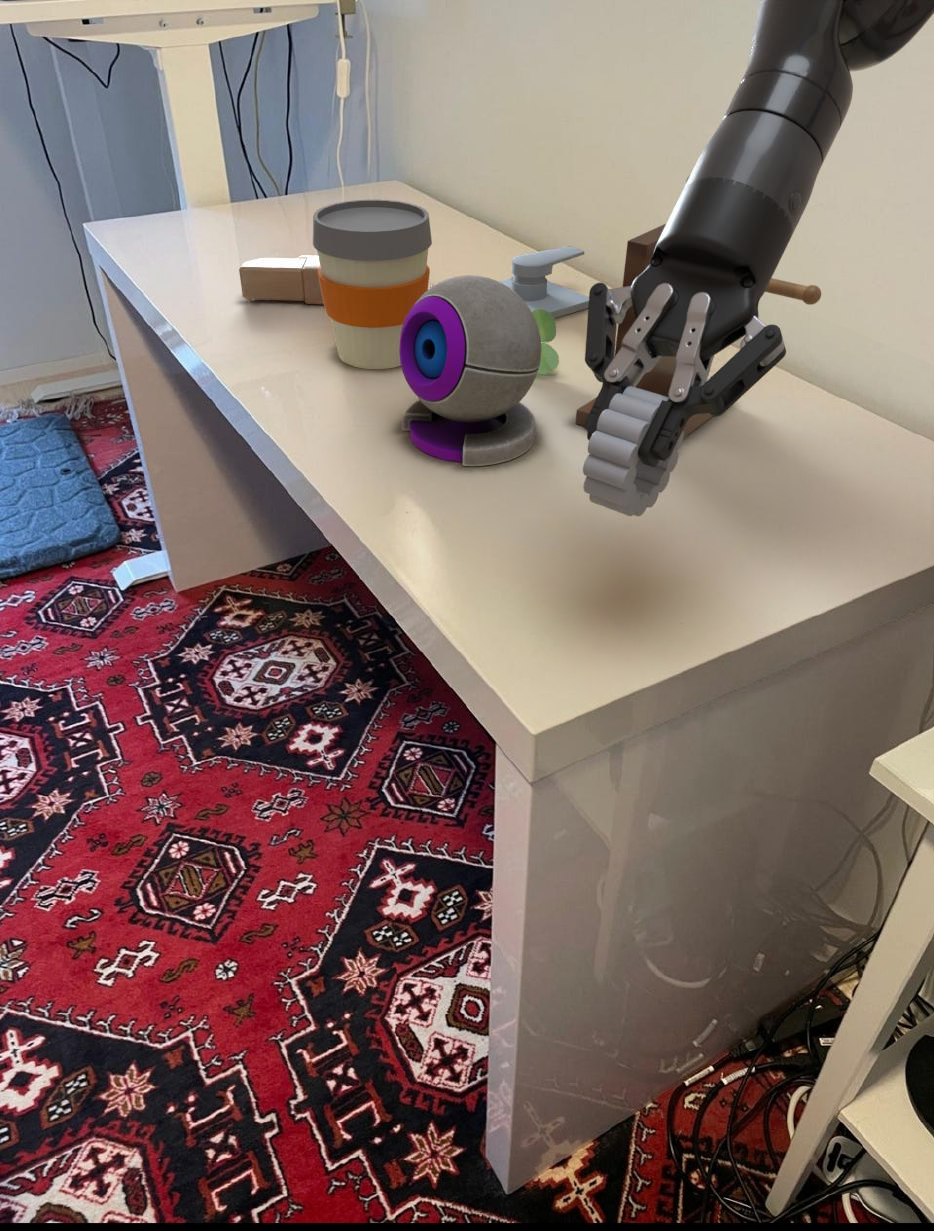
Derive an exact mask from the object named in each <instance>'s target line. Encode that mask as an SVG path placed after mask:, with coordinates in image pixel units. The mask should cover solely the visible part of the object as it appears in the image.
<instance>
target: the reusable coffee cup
mask: <svg viewBox="0 0 934 1231" xmlns="http://www.w3.org/2000/svg"><path fill="white" fill-rule="evenodd" d="M312 218H313V219H312V246H313V248H314V249H315V250H316V252H317V256H318V258H319V263H320V267H319V269H318V277H319V282H320V287H321V291H322V296H323V301H324V304H323V306H324V311H325V314H326V315H327V316H328V317H329V319H330V321H331V325H332V326H331V327H332V331H333V337H334V341H335V345H336V346H335V347H336V350H337V355H338V358H339V360H340V361H341V362H342V363H345V364H346V365H348V366H351V367H355V368H359V369H364V370H385V369H393V368H398V367H401V363H400V354H399V344H400V335H401V330H402V326H403V323H404V321H405V319H406V316H407V315H408V313H409V311H410V310H411V308H412V307H413V306H414V304H415V303H416V302H417V300H418V299H419V298H420V297H421V296H422V295H423V294H424V293H425V292H426V291H428V290H429V283H430V273H431V270H430V267H429V265H428V256H429V248H431V246H432V244H433V241H432V230H431V224H430V223H431V222H430V213H429V212H428V211H427V209H425V208H424V207H422V206H419V205H417V204H414V203H409V202H405V201H400V200H390V199H355V200H354V199H353V200H346V201H340V202H335V203H331V204H328V205H325V206H323V207H320V208H319V209H317V210H316V211H315V212H314V213H313V215H312Z"/></svg>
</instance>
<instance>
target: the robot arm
mask: <svg viewBox="0 0 934 1231" xmlns="http://www.w3.org/2000/svg"><path fill="white" fill-rule="evenodd" d="M933 15H934V0H759V2H758V7H757V13H756V17H755V22H754V28H753V33H752V37H751V41H750V46H749V51H748V59H747V64H746V68H745V72H744V74H743V76H742V78H741V80H740V82H739V84H738V86H737V88H736V91H735V92H734V95H733V96H732V98H731V100H730V102H729V104H728V106H727V108H726V111H725V113H724V115H723V116H722V118H721V121H720V123H719V125H718V126H717V128H716V130H715V131H714V133H713V135H712V136H711V138H710V139H709V140H708V142H707V143H706V145H705V146H704V148H703V149H702V151H701V153H700V155H699V157H698V158H697V160H696V163H695V165H694V167H693V169H692V171H691V173H689V175H688V177H687V178H686V179H685V183H684V186H683V189H682V191H681V193H680V196H679V197H678V199H677V201H676V203H675V206H674V208H673V209H672V211H671V214H670V216H669V218H668V220H667V222H666V223H667V224H666V223H665V224H666V226H665V228H664V230H663V232H662V234H661V236H660V238H659V240H658V242H657V244H656V247H655V249H654V253H653V256H652V259H651V262H650V264H649V266H648V267H647V268H646V269H645V270H644V271H643V272H642V273H641V274H640V275H639V276H637V277H636V279H635V280H634V281H633V283H632V285H631V286H626V287H623V286H621V287H614V288H608V286H607V285H606V284H605V283H604V282H597V283H595V284H593V285H592V286H591V287H590V289H589V293H588V294H589V295H588V297H589V307H588V308H587V322H586V323H587V324H586V336H585V337H586V339H585V350H584V352H585V353H584V362H585V364H586V365H587V367H588V368H589V369H590V371H591V372H592V373H593V374H594V375H593V376H594V378H595V379H596V380H597V381H598V382H599V383H602V386H601V388H600V390H599V392H598V395H597V396H596V397H597V398H596V397H595V398H596V401H595V403H594V405H593V407H592V409H591V411H590V413H589V415H588V417H587V419H586V422H585V426H584V429H585V431H586V432H587V434H586V438H587V440H588V441H589V440H590V438H591V436H592V434H593V433H594V432H595V431H597V423H598V420H599V417H600V415H601V414H602V412H603V411H604V410H606V409H609V405H610V402H611V400H612V398H613V397H614V396H615V395H616V394H617V393H620V394H623V392H624V390H625V389H626V388H627V387H628V386H632V387H636V386H637V384H638V383H639V381H640V380H641V379H642V377H643V376H644V374H645V373H647V372H650V371H651V370H652V369H653V368H654V366H655V365H656V364H657V362H658V361H659V359H660V358H661V356H670V357H676V369H675V372H674V376H673V379H672V382H671V386H670V389H669V399H668V401H664V400H662V402H661V404H660V406H659V408H658V410H657V412H656V414H655V416H654V418H653V421H652V423H651V425H650V427H649V429H648V431H647V433H646V435H645V437H644V439H643V441H642V443H641V445H640V447H639V450H638V457H639V458H640V460H641V461H642V462H643V464H645V465H648V466H651V467H656V466H657V464H658V462H659V460H662V461H665V460H666V459H667V458H668V457H669V456H670V455H671V454H672V452H673V450H674V447H675V446H676V443H677V441H678V439H679V437H680V435H681V433H682V431H683V429H684V427H685V425H686V423H687V421H688V420H689V418H690V417H692V416H693V415H696V414H704V413H709V414H710V415H712V417H720V416H722V415H723V414H724V413H726V412H727V411H728V410H729V409H730V408H731V407H732V406H733V405H735V403H737V401H738V400H740V399H741V398H742V397H743V396H745V394H746V393H748V391H750V390H751V388H752V387H754V386H755V385H756V384H757V383H758V382H759V381H760V380H761V379H762V378H763V377H765V375H767V374H768V373H769V372H770V371H771V370H772V369H773V368H774V367H776V366H777V364H779V363H780V361H782V360H783V359H784V358H785V356H786V354H787V348H786V345H785V341H784V338H783V333H782V330H781V328H780V326H778V325H776V324H766V323H764V321H762V320H761V319H760V318H759V317H760V316H759V303H760V301H761V299H762V297H763V295H764V294H765V293H766V292H765V290H766V288H767V286H768V284H769V282H770V280H771V278H773V276H774V274H775V272H776V270H777V268H778V266H779V263H780V261H781V260H782V257H783V255H784V254H785V251H786V249H787V248H788V246H789V243H790V241H791V238H792V237H793V235H794V233H795V231H796V229H797V226H798V225H799V222H800V220H801V218H802V216H803V214H804V212H805V210H806V208H807V206H808V204H809V202H810V199H811V196H812V194H813V189H814V187H815V184H816V180H817V178H818V175H819V172H820V170H821V168H822V166H823V164H824V162H825V160H826V158H827V156H828V154H829V152H830V150H831V147H832V145H833V144H834V142H835V139H836V138H837V136H838V133H839V132H840V129H841V127H842V125H843V123H844V122H845V119H846V117H847V115H848V113H849V109H850V107H851V104H852V100H853V93H854V92H853V91H854V82H853V78H852V75H851V72H858V71H863V70H868V69H871V68H873V67H876V66H878V65H879V64H882V63H883V62H885V61H887V60H889V59H890V58H892V57H893V56H894V55H896V54H897V53H898V52H900V51H901V50H902V49H903V48H904V47H905V46H906V45H907V44H908V43H910V42H911V41H912V40H913V38H914V37H915V36H917V34H918V33H919V32H920V31H921V30H922V29H923V27H924V26H925V25H926V23H927V22H929V21H930V19H931V18H932V16H933ZM631 306H633V310H634V315H635V320H636V321H635V322H634V323H633V325H632V326H631V328H630V329H629V331H628V332H627V333H626V335H625V336H624V338H623V340H622V345H621V349H620V350H619V352H618V353H617V355H616V356H615V349H616V340H617V326H618V324H621V323H622V322H623V319H624V317H625V313H626V311H627V309H628V308H629V307H631ZM740 339H742V340H741V341H740V344H739V348H740V349H739V350H738V351H737V352H736V353H734V355H733V356H732V357H731V358H730V359H729V360H728V361H726V362H725V363H724V364H723V365H722V366H721V367H720V368H719V369H718V370H717V371H716V372H715V373H714V374H713V375H712V376H710V377H709V375H710V372H711V368H712V364H713V360H714V358H715V356H716V355H717V354H719V353H720V352H721V351H723V350H725V349H726V348H728V347H729V346H731V345H732V344H734V343H736V342H737V341H739V340H740Z"/></svg>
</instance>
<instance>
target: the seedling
mask: <svg viewBox="0 0 934 1231" xmlns="http://www.w3.org/2000/svg"><path fill="white" fill-rule="evenodd" d="M532 314H533V316H534V318H535V320H536V322H537V325H538V329H539V333H540V338H541V360H540V366H539V370H538V373H537V376H538V375H543V376H545V375H548V374H550V373H552V372H554V370H556V369H558V366H559V363H560V357H559V354H558V352H557V351H556V349H555V348H553V347H552V345H550V344H549V342H552V341H554V339H555V338H556V336H557V322H556V318H554V317H553V316H552V315H551V314H550V313H549V312H548V311H546V310H543V309H537V310H533V311H532Z"/></svg>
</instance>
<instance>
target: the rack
mask: <svg viewBox="0 0 934 1231" xmlns="http://www.w3.org/2000/svg"><path fill="white" fill-rule="evenodd" d="M666 224H667V222H666V223H664V224H662V225H660V226H657V227H655V228H653V229H651V230H648V231H646V232H644V233H642V234H640V235H638V236H635V237H633V238H631V239H628V240H627V243H626V251H625V262H624V270H623V278H622V287H626V286H631V285H632V283H633V281H634V280H635V279H636V277H637V276H639V275H640V274H641V273H642V272H643V271H644V270H645V269H646V268H647V267H648V266H649V264H650V262H651V259H652V256H653V253H654V249H655V247H656V244H657V242H658V240H659V238H660V236H661V234H662V232H663V230H664V228H665V226H666ZM764 293H769V294H773V295H777V296H782V297H786V298H790V299H794V300H798V301H802V302H803V303H804V304H806V305H808V306H809V305H810V306H812V305H815V304H817V303H818V302H819V301H820V299H821V297H822V290H821V289H820V287H819V286H817V285H816V284H810V285H803V284H799V283H795V282H790V281H786V280H781V279H778V278H773V277H772V278H771V280H770V282H769V284H768V286H767V288H766V290H765V292H764ZM635 321H636V320H635V315H634V310H633V306H631V307H629V308H628V309H627V311H626V313H625V317H624V319H623V322H622V323H621V324H617V330H616V341H615V356H616V355H617V353H618V352H619V350H620V349H621V345H622V340H623V338H624V336H625V335H626V333H627V332H628V331H629V329H630V328H631V326H632V325H633V323H634V322H635ZM675 369H676V357H670V356H661V358H660V359H659V361H658V362H657V364H656V365H655V366H654V368H653V369H652V370H651V371H650V372H647V373H645V374H644V376H643V377H642V379H641V380H640V381H639V383H638V384H637V386H636V387H635V388H639V389H643V390H646V391H649V392H652V393H656V394H659V395H662V396H665V397H669V389H670V386H671V382H672V379H673V376H674V372H675ZM596 398H597V396H596V397H594V398H593V399H591V400H590V401H588V402H586V403H585V404H584V405H582V406H580V407H578V408H577V409H576V412H575V424H577V425H579V426H582V427H585V422H586V419H587V417H588V415H589V413H590V411H591V409H592V407H593V405H594V403H595V401H596ZM712 417H713V416H712V415H710V414H709V413H704V414H696V415H693V416H692V417H690V418H689V420H688V421H687V423H686V425H685V427H684V429H683V431H684V438H683V440H684V439H685V438H687V437H688V436H689V435H690V434H692V433H693V432H694V431H695V430H696V429H698V428H700V427H701V426H702V425H703V424H704V423H706V422H707V421H708V420H710V419H711V418H712Z"/></svg>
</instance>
